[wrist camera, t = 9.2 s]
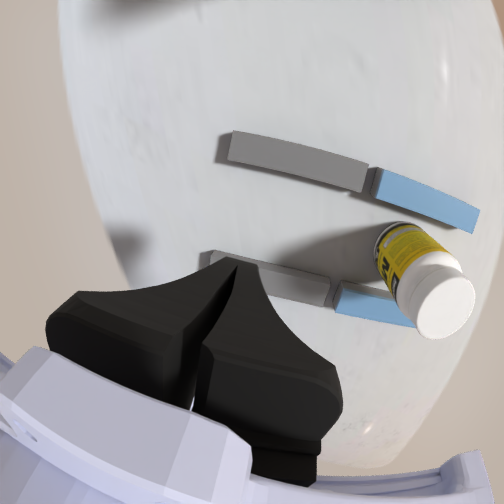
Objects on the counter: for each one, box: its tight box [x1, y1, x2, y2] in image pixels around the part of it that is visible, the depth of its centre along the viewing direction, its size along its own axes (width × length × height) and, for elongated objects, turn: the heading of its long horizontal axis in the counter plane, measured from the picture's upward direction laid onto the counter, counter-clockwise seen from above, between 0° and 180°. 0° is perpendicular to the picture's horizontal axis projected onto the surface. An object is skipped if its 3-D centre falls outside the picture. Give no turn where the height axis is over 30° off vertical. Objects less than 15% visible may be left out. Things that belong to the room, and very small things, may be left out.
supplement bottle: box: [374, 222, 475, 340], centre depth 16 cm, size 5×5×8 cm
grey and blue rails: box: [209, 130, 480, 328], centre depth 19 cm, size 11×19×2 cm, turn 78°
